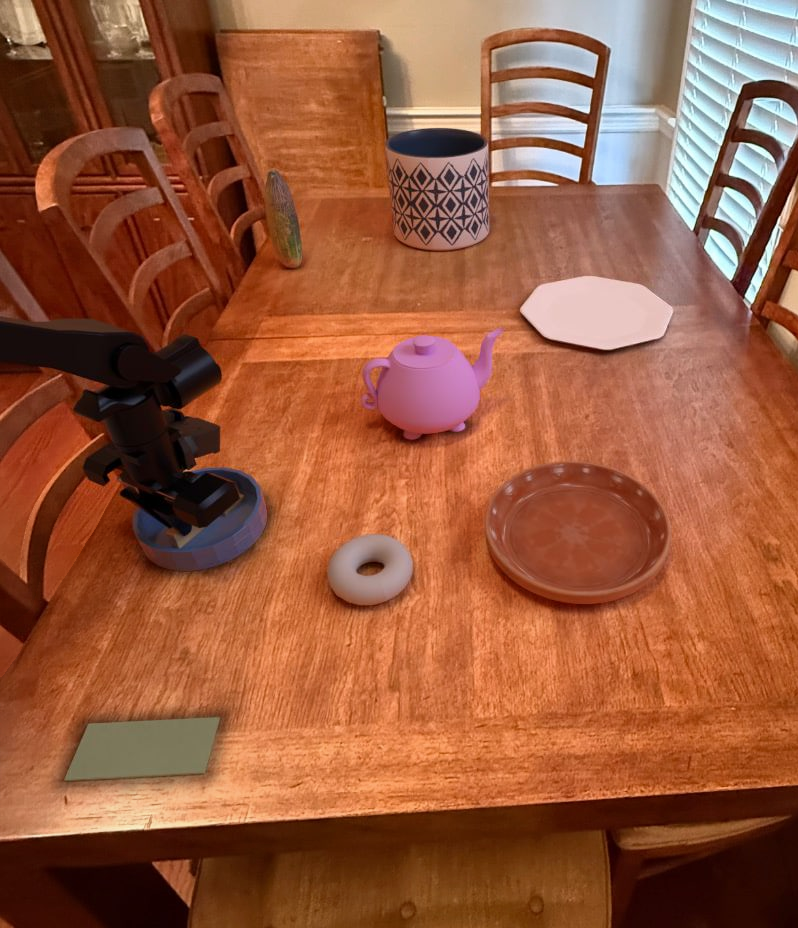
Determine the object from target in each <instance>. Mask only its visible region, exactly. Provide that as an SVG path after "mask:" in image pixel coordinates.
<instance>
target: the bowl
mask: <svg viewBox="0 0 798 928" xmlns="http://www.w3.org/2000/svg"><path fill="white" fill-rule="evenodd" d="M190 471H191V472H193V473H196V474H198V475H201V476H202V475H203V474H204V473H206V472H207V473H213V474H216V475H218V476H221V477H223V478H226V479H228V480H231V481H234V482H236V484H237V487H238V490H239V493H240V494H242V495H244V497H245V499H244V500H243V501H242V502H241V503H240V504H239V505H237V506H236V507H235V508H234V509H233V510H232V511H230V512H229V513H228V514H227V515H223V514H221V515H220V516H219V517H218V518H217V519H216V520H214V521H213V522H212V523H211V524H210V525H208V526H207V527H205V528H204V529H203V530H202V531H201V532H199V533H198V534H197V535H196V536H195V537H194V538H192V539H191V540H190V541H189V542H188V543H186V544H185V545H184V546H183V547H182V548H176V547H174V546H172V545H171V543H170V541H169V538H168V536H167V534H166V532H167V531H168V530H169V528H167V527H166V526H165V525H163V524H162V523H160V522H159V521H157V520H156V519H155V518H153V517H152V516H150V515H149V514H147V513H146V512H144V511H143V510H141V509H140V508H138V507H137V506H136V509H135V510H134V512H133V515H132V531H133V533H134V535H135V538H136V540H137V541H138V544H139V545H140V547H141V550H142V551H143V552H144V554H145V557H147V558H148V560H149V561H151V562H152V563H153V564H154V565H156V566H158V567H161V568H163V569H166V570H170V571H175V572H195V571H201V570H208V569H210V568H215V567H217V566H221V565H223V564H225V563H229V562H230V561H232V560H234V559H236V558H237V557H239V556H241V555H242V554H243V553H245V552H246V551H248V550H249V549H250V548H251V547H252V546H253V545H254V544H255V543H256V542H257V541H258V540H259V538H260V537H261V536H262V534H263V532H264V531H265V528H266V525H267V521H268V510H267V505H266V500H265V498H264V494H263V490H262V487H261V485H260V484H259V483H258V481H256V479H255V478H254V477H253V476H252V475H250V474H248V473H246V472H244V471H242V470H240V469H236V468H230V467H225V466H223V467H222V466H221V467H220V466H219V467H217V466H216V467H203V468H198V469H193V470H190Z"/></svg>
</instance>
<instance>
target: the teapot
mask: <svg viewBox="0 0 798 928" xmlns="http://www.w3.org/2000/svg"><path fill="white" fill-rule="evenodd" d="M504 331H505V329H504V328H497V329H494V330H492V331H490V332H489V333H487V335H485V337H483V339H482V342H481V344H480V351H479V356H478V359H477V360H476V361H475V362H474V363H473V364H472V365H471V363H470V362H469V361H468V359H467V358H466V356H465V355H464V354H463V353H462V351H461V350H460V349H459V348H458V347H457V346H456V345H455V344H454V343H453V342H452V341H450V340H449V339H447V338H444V337H441V336H436V335H428V334H422V335H421V334H420V335H417V336H413V337H410V338H407V339H404V340H402V341H401V342H399V343H397V344H396V345H395V346H394V347H393V348H392V350H391V351H390V353H389V354H388V356H387V358H383V357H378V358H377V357H376V358H374V359H371V360H369V361H368V362H366V363H365V365H364V366H363V367H362V372H361V375H362V380H363V384H364V386H365V388H366V390H367V392H366V393H365V394H363V395H362V397H361V398H360V403H361V406H362V408H363V409H365V410H367V411H376V410H377V409H378V411H379V412H380V414H381V415H382V417H383V418H384V419H385V420H386V421H387V422H390V423H391V424H392V425H394V426H396V427H397V428H399V429H401V430H403V437H404V438H405V439H406V440H417V439H419V438H420V437H421V436H422V435H423V434H426V435H427V434H437V433H442V432H446V431H451V432H452V433H453V432H454V433H458V432H462V431H463V430H464V429H466V424H465V421H466V420H467V419H468V418H470V417H471V416H472V415H473V413H474V412H475V411H476V409H477V408H478V405H479V403H480V399H481V393H480V392H481V390H482V389H484V387H485V386H486V385H487V384H488V382H489V380H490V378H491V376H492V372H493V349H494V345H495V343H496V341H497V340H498V338H499V337H500V336H501V335H502V334H503V333H504ZM379 368H381V369H380V372H379V375H378V377H377V381H376V387H375V386H374V384H373V382H372V381H371V377H370V373H371V371H373V370H375V369H379ZM368 400H372V401H368Z"/></svg>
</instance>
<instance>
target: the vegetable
mask: <svg viewBox="0 0 798 928" xmlns="http://www.w3.org/2000/svg"><path fill="white" fill-rule="evenodd" d="M263 193H264V194H263V195H264V211H265V218H266V224H267V229H268V233H269V237H270V240H271V243H272V246H273V248H274V251H275V254H276V256H277V258H278V260H279V261H280V263H281V264H282V265H283V266H285V267H287V268H289V269H296V268H298V267H299V266H300V265H301V264H302V261H303V255H304V254H303V243H302V237H301V230H300V222H299V217H298V214H297V210H296V206H295V204H294V203H295V202H294V199H293V194H292V192H291V190H290V187H289V185H288V184H287V182H286V181H285V179H284V178H283V177H282V175H281V173H280V172H279V171H277V170H275V169H272V170H269V172H268V173H267V177H266V182H265V185H264V192H263Z"/></svg>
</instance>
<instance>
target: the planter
mask: <svg viewBox="0 0 798 928" xmlns="http://www.w3.org/2000/svg"><path fill="white" fill-rule="evenodd" d="M384 149H385V159H386V161H385V162H386V169H387V171H386V172H387V180H388V189H389V191H388V192H389V200H390V208H391V209H390V210H391V218H392V220H391V221H392V228H393V234H394V236H395V238H396V239H397V240H398V241H399V242H401V243H403V244H405V245H407V246H409V247H411V248H415V249H419V250H425V251H434V252H435V251H437V252H439V251H441V252H445V251H455V250H460V249H464V248H469V247H471V246H473V245H476V244H479V243H480V242H481V241H483V240H484V239H485V238H486V237H487V236H488V234H489V233H490V173H489V172H490V170H489V169H490V165H489V164H490V163H489V141H488V139H487V138H486V137H485V136H484V135H482V134H480V133H478V132H475V131H471V130H468V129H461V128H454V127H453V128H451V127H428V128H425V127H424V128H416V129H411V130H406V131H402V132H399V133H395V134H394V135H392V136H390V137H388V139H387V138H386V141H385V142H384Z"/></svg>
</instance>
